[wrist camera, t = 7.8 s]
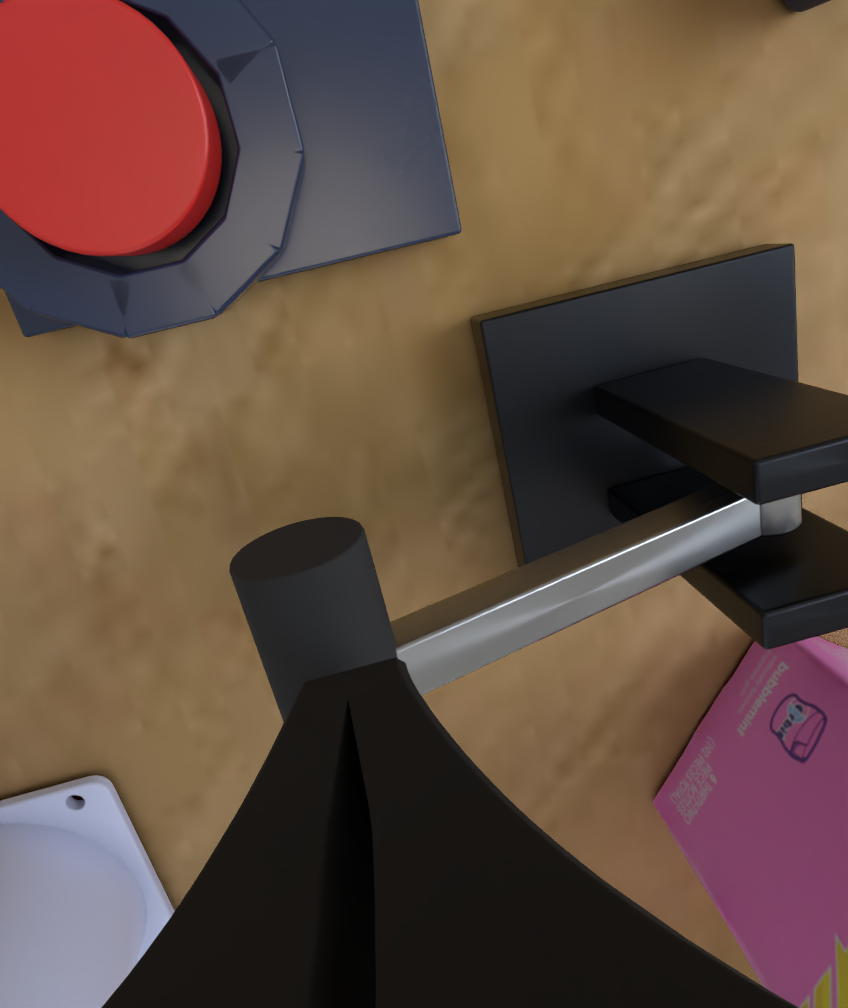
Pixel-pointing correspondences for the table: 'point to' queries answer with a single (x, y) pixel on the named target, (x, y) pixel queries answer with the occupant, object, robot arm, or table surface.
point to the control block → (268, 165)
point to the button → (101, 129)
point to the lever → (467, 591)
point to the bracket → (674, 426)
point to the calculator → (803, 4)
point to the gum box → (774, 816)
